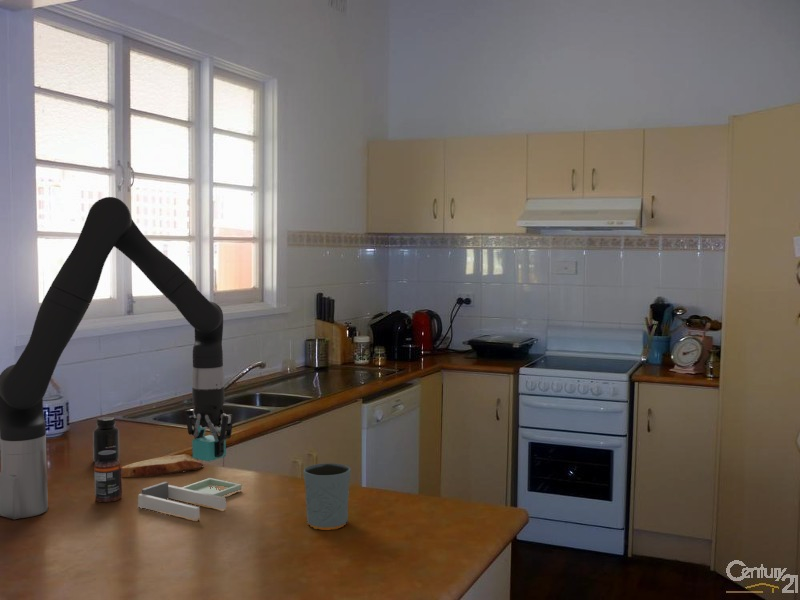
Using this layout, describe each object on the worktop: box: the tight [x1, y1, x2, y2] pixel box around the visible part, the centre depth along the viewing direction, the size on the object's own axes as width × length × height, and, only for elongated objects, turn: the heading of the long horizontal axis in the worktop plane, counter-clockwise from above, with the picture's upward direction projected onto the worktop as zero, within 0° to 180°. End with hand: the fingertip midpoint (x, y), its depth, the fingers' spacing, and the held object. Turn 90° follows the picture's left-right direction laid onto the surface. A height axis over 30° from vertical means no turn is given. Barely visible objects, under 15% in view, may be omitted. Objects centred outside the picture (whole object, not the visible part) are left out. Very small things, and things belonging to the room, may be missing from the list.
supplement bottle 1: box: [92, 416, 120, 463], centre depth 220 cm, size 7×7×12 cm
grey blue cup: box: [303, 462, 352, 528], centre depth 170 cm, size 10×10×12 cm
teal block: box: [191, 434, 227, 462], centre depth 190 cm, size 6×6×4 cm
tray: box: [181, 477, 243, 497], centre depth 190 cm, size 11×11×2 cm
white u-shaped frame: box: [137, 481, 227, 519], centre depth 179 cm, size 9×18×4 cm, turn 58°
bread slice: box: [121, 453, 204, 478], centre depth 211 cm, size 18×18×4 cm
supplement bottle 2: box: [93, 450, 123, 503], centre depth 186 cm, size 6×6×11 cm
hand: (209, 454), depth 190 cm, fingers closed on teal block, 5 cm apart
